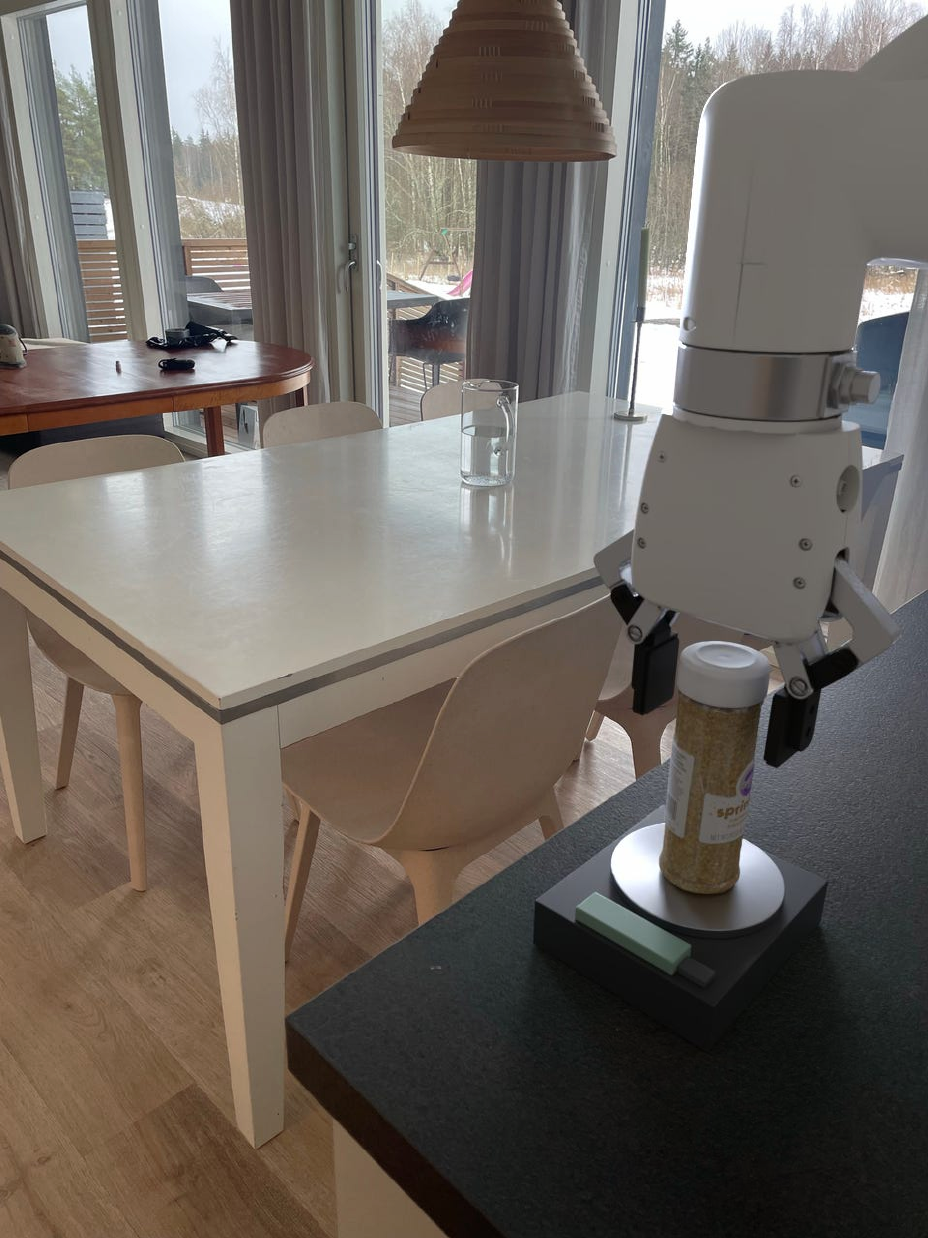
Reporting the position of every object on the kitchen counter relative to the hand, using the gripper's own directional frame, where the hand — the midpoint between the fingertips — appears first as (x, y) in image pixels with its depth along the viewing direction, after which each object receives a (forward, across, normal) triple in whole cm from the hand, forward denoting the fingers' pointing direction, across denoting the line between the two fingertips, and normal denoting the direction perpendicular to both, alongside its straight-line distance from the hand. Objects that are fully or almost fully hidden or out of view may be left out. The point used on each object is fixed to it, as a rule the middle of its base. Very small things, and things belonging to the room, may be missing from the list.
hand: (715, 727), depth 49 cm
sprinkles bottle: (+9, 0, 0) cm, 9 cm away
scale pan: (+10, 0, 0) cm, 10 cm away
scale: (+13, 0, +1) cm, 13 cm away
